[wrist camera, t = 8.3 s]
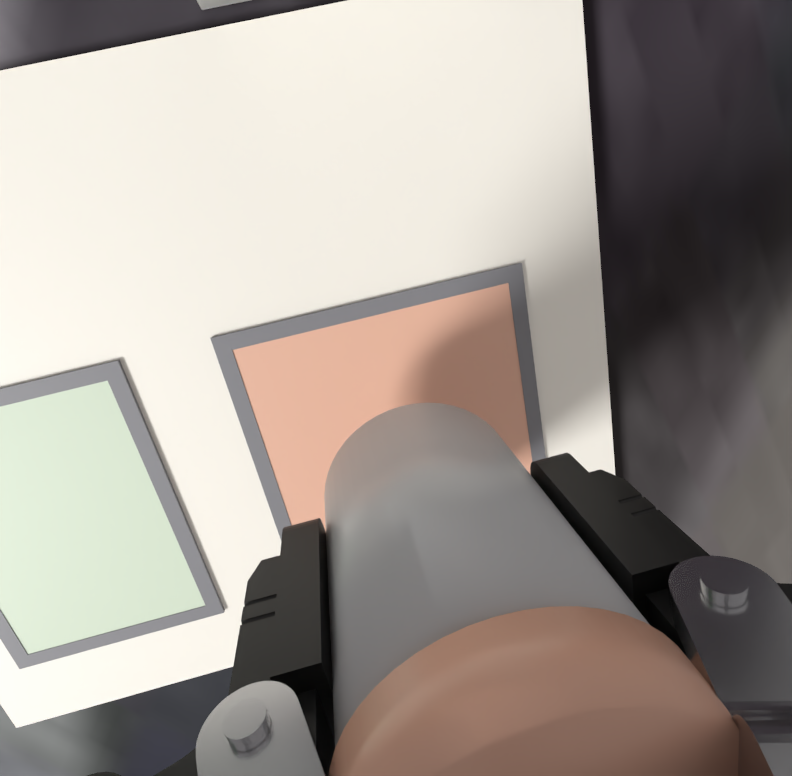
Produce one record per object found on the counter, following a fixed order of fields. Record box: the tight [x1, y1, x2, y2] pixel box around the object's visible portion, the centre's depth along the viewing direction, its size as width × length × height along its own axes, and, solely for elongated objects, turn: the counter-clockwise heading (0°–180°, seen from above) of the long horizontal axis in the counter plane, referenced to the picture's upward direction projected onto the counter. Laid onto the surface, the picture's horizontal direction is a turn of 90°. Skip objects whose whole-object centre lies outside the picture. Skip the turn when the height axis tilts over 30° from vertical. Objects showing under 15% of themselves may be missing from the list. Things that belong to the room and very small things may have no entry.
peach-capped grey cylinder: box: [324, 403, 739, 776], centre depth 9 cm, size 5×5×8 cm
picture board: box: [0, 0, 615, 728], centre depth 14 cm, size 16×19×1 cm
